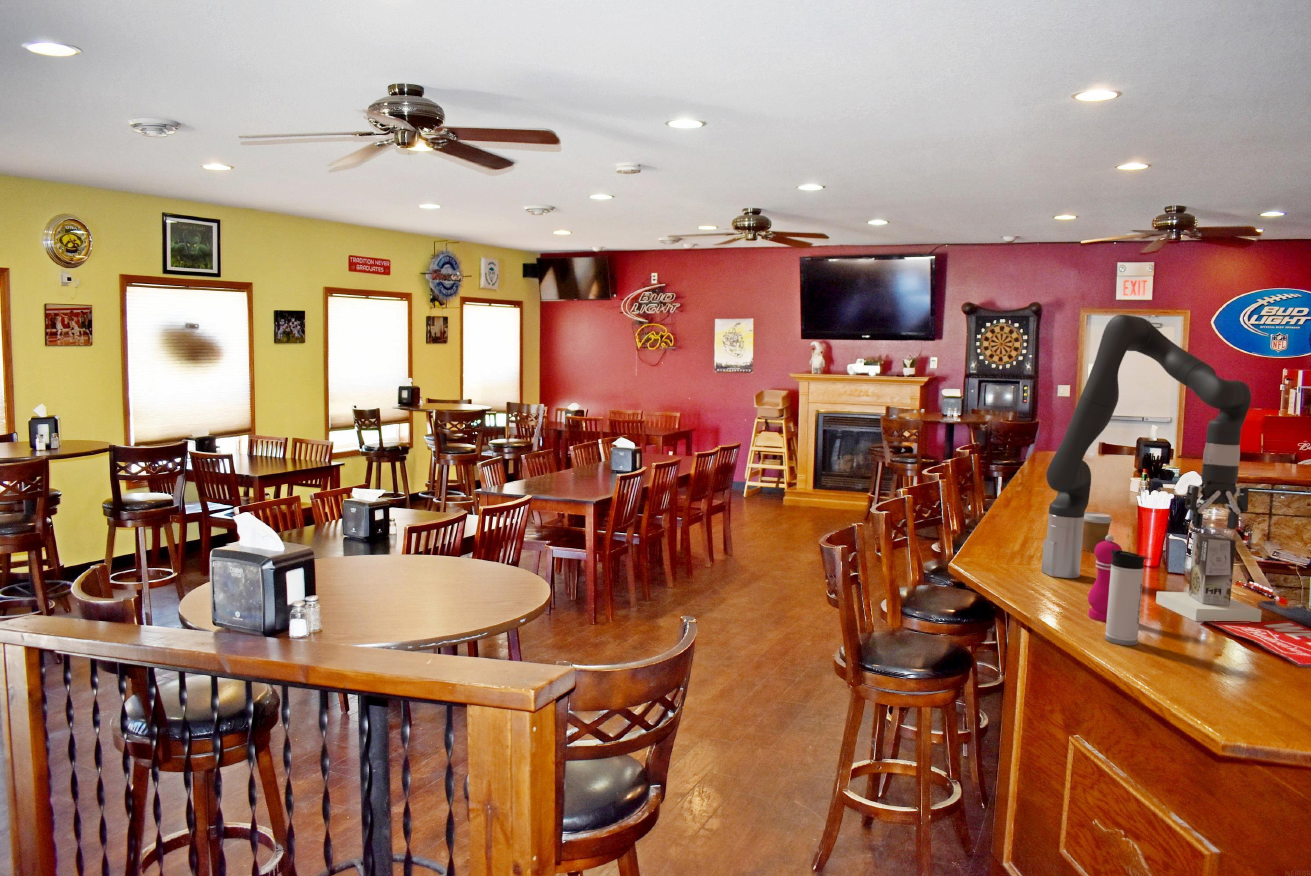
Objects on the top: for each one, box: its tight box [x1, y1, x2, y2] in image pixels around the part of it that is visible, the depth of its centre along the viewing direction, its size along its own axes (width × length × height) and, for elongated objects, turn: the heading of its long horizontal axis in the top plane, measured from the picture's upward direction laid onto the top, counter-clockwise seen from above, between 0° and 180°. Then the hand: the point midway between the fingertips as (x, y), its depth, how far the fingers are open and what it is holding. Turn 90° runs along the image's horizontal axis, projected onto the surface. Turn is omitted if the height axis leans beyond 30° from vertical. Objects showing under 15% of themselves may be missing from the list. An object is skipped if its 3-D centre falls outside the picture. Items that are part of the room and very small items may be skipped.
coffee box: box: [1188, 532, 1237, 606], centre depth 226 cm, size 9×6×16 cm
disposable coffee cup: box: [1082, 511, 1113, 553], centre depth 299 cm, size 10×10×12 cm
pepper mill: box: [1087, 534, 1123, 622], centre depth 218 cm, size 7×7×20 cm
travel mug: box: [1104, 550, 1145, 647], centre depth 200 cm, size 6×7×20 cm
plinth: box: [1155, 591, 1262, 622], centre depth 227 cm, size 16×16×3 cm
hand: (1214, 528), depth 225 cm, fingers open, 8 cm apart
